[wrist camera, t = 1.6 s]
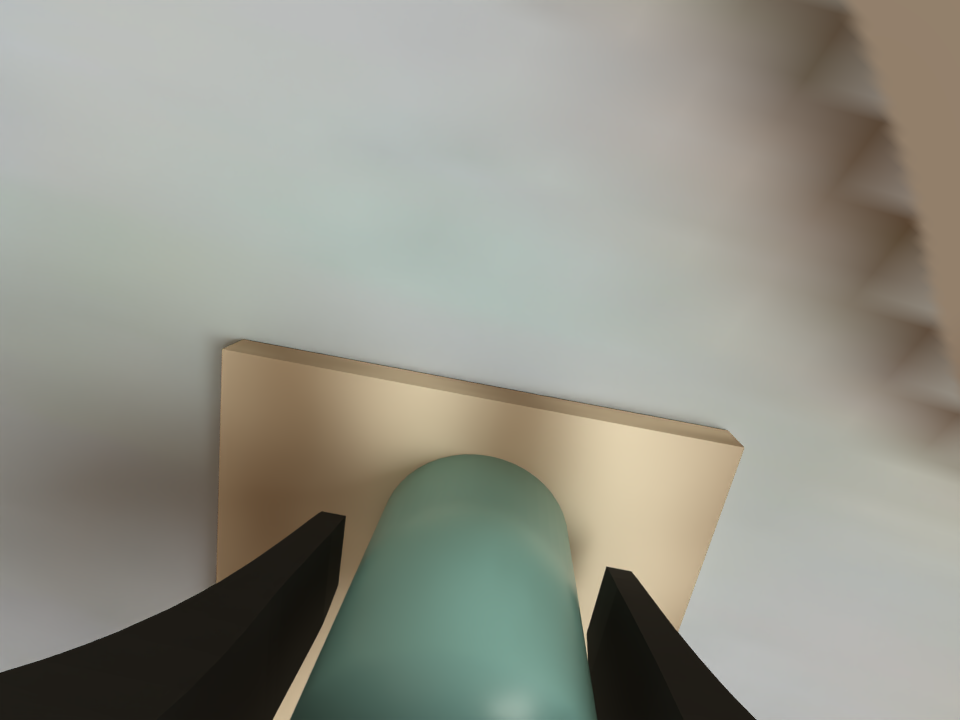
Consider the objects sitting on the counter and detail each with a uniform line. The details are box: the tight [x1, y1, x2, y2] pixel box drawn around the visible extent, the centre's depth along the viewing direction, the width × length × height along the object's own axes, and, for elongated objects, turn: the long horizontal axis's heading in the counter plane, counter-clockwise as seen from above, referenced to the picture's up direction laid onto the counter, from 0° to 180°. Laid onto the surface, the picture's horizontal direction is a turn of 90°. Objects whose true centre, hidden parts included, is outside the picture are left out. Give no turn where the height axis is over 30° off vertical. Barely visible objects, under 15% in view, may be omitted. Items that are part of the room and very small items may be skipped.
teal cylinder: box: [290, 454, 597, 720], centre depth 11 cm, size 5×5×6 cm
